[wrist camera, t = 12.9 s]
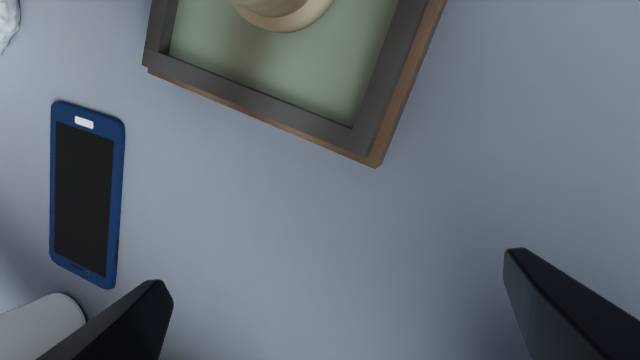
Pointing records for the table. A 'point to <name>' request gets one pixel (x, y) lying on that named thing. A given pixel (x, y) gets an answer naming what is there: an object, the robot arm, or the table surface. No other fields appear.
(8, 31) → the sitting furry creature
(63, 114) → the cell phone
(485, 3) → the table surface
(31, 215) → the table surface
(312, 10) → the beige round-topped cylinder
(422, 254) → the table surface
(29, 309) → the drinking glass
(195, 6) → the picture frame
